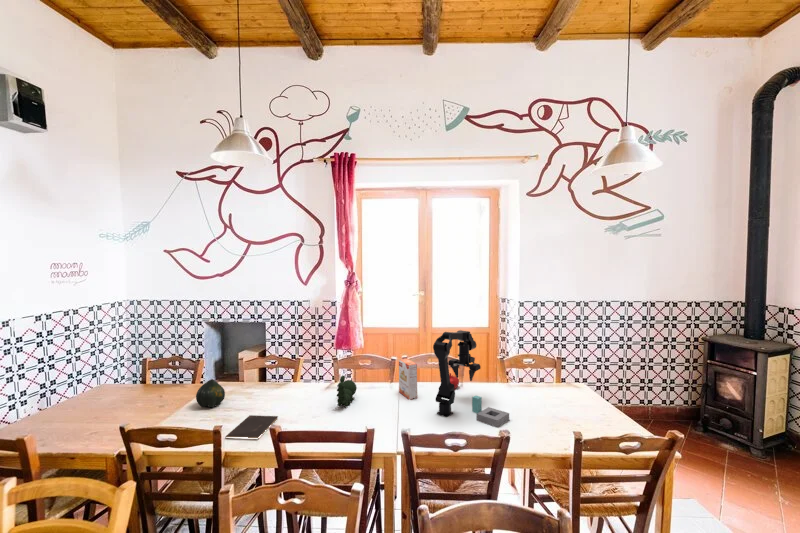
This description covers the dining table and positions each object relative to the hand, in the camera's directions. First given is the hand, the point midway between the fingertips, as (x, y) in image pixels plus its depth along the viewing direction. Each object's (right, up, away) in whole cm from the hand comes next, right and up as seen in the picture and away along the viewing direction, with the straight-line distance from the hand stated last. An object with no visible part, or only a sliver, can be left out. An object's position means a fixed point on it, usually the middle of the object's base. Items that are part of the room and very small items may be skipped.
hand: (464, 379), depth 229 cm
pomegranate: (-4, -12, +24) cm, 28 cm away
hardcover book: (-109, -16, -33) cm, 115 cm away
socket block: (+11, -14, -25) cm, 31 cm away
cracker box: (-32, -13, +11) cm, 36 cm away
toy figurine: (-68, -14, 0) cm, 69 cm away
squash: (-145, -14, -3) cm, 146 cm away
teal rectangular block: (+5, -13, -14) cm, 20 cm away
